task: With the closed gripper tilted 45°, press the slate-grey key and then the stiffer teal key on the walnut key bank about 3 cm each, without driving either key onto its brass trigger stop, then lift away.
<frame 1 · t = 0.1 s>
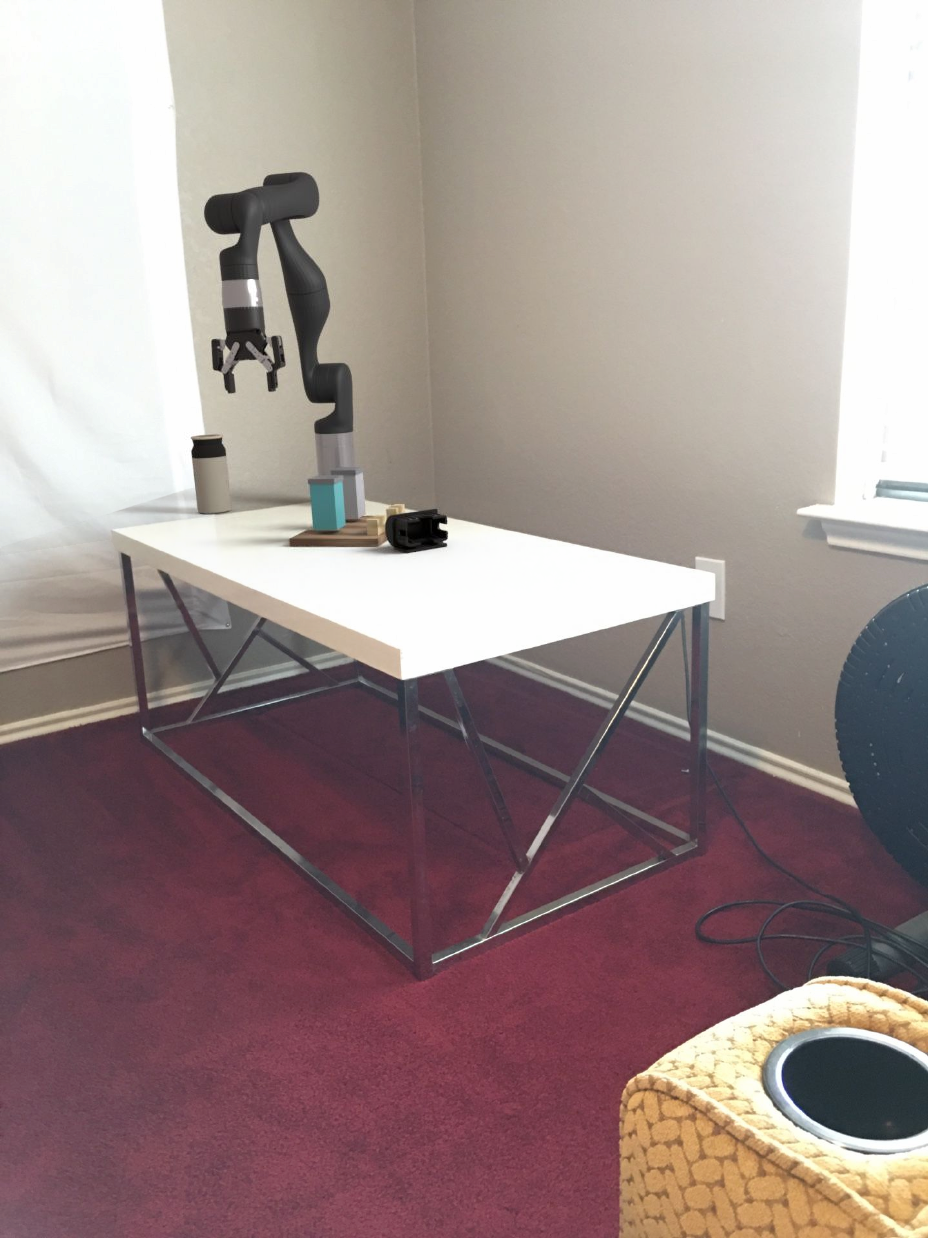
hand: (251, 392, 202), 29 cm above the table, tool pointing down, fingers open, 8 cm apart
end cap: (418, 548, 195), on the table
grey key: (349, 492, 216), point 7 cm above the table, slide at 0.0 cm
key base: (355, 533, 212), on the table
travel mug: (215, 512, 248), on the table
teal key: (327, 502, 204), point 7 cm above the table, slide at 0.0 cm
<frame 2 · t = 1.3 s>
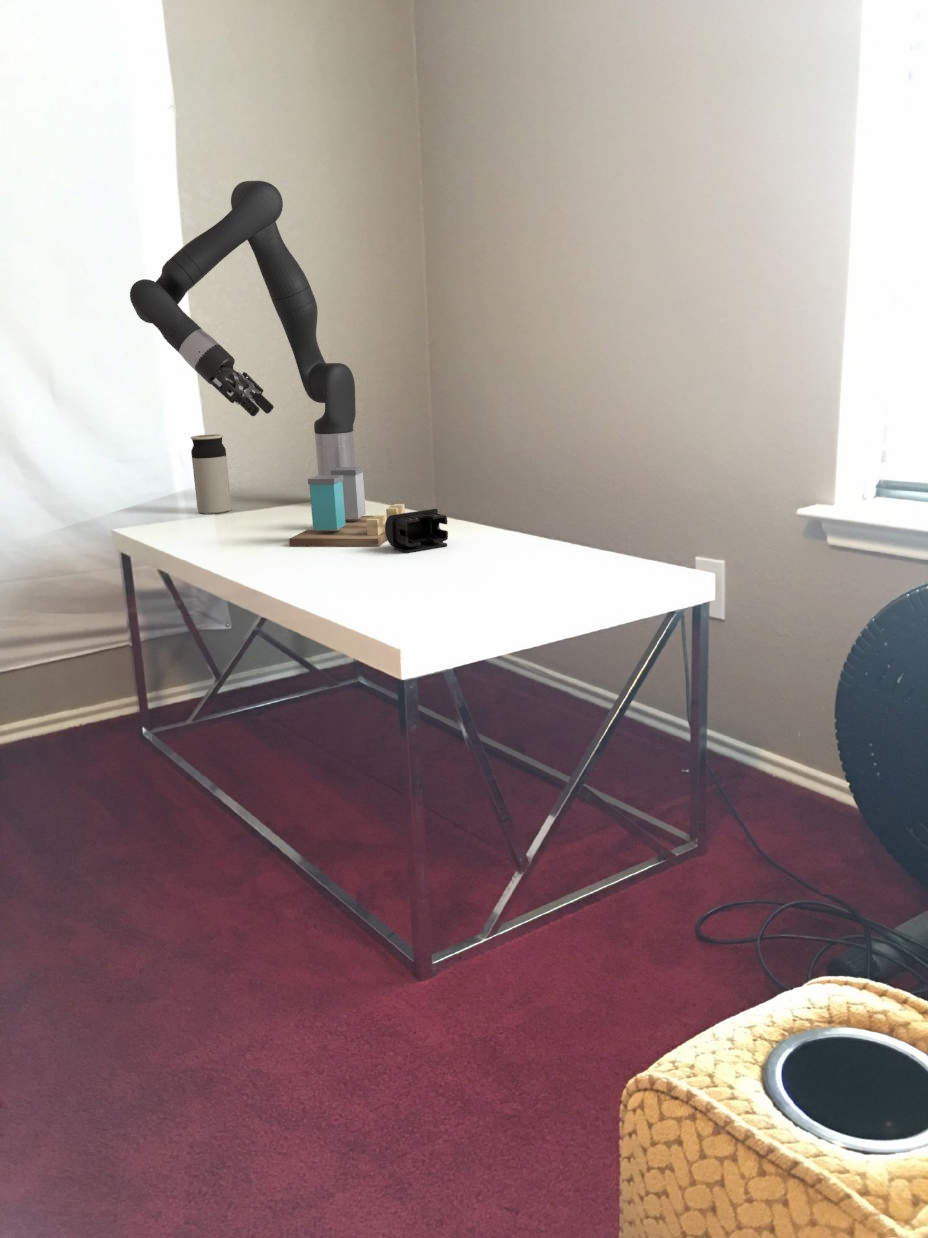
hand: (263, 411, 218), 24 cm above the table, tool tilted 45°, fingers open, 7 cm apart
nothing on the table moved.
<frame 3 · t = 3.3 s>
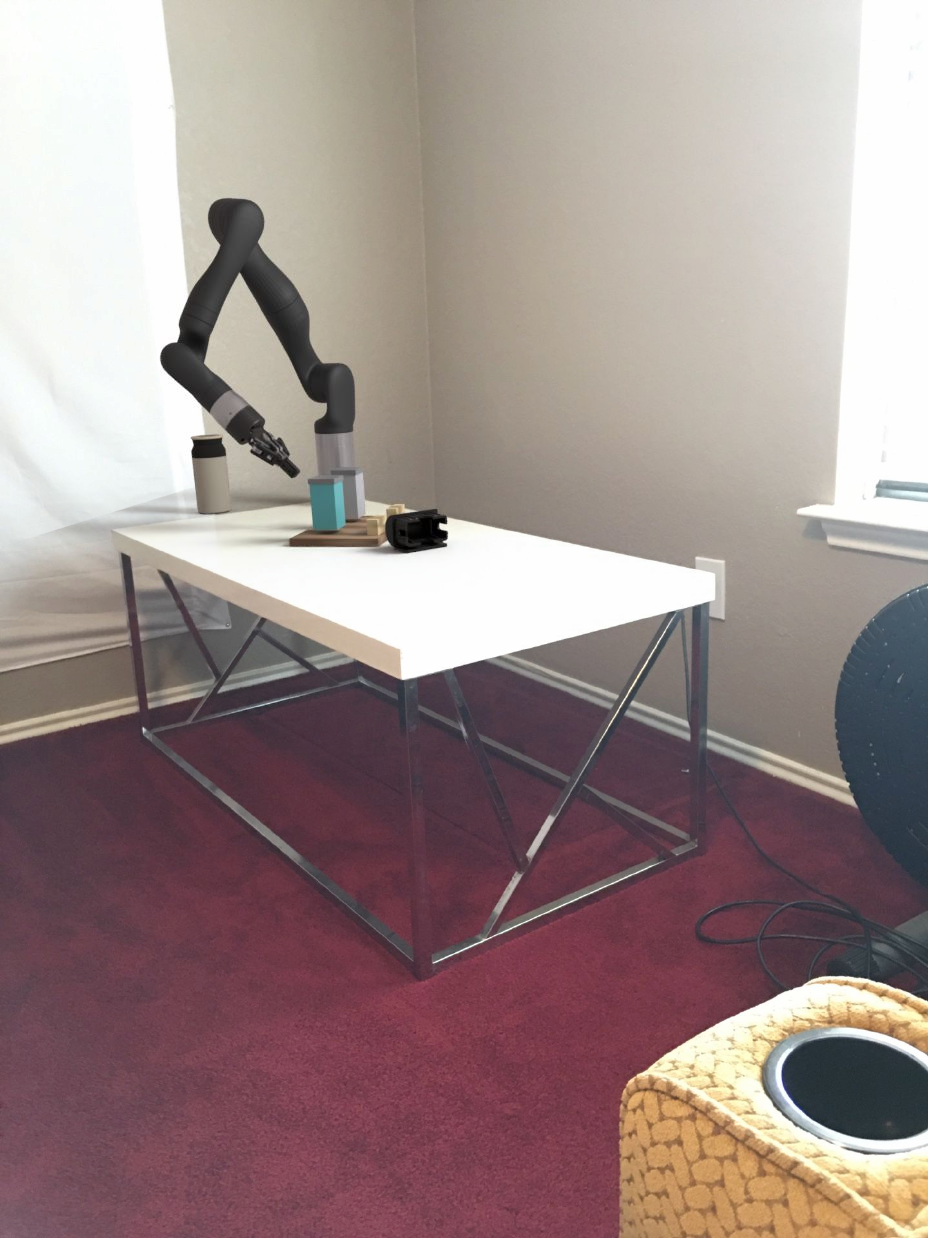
hand: (296, 474, 218), 11 cm above the table, tool tilted 45°, fingers closed
nothing on the table moved.
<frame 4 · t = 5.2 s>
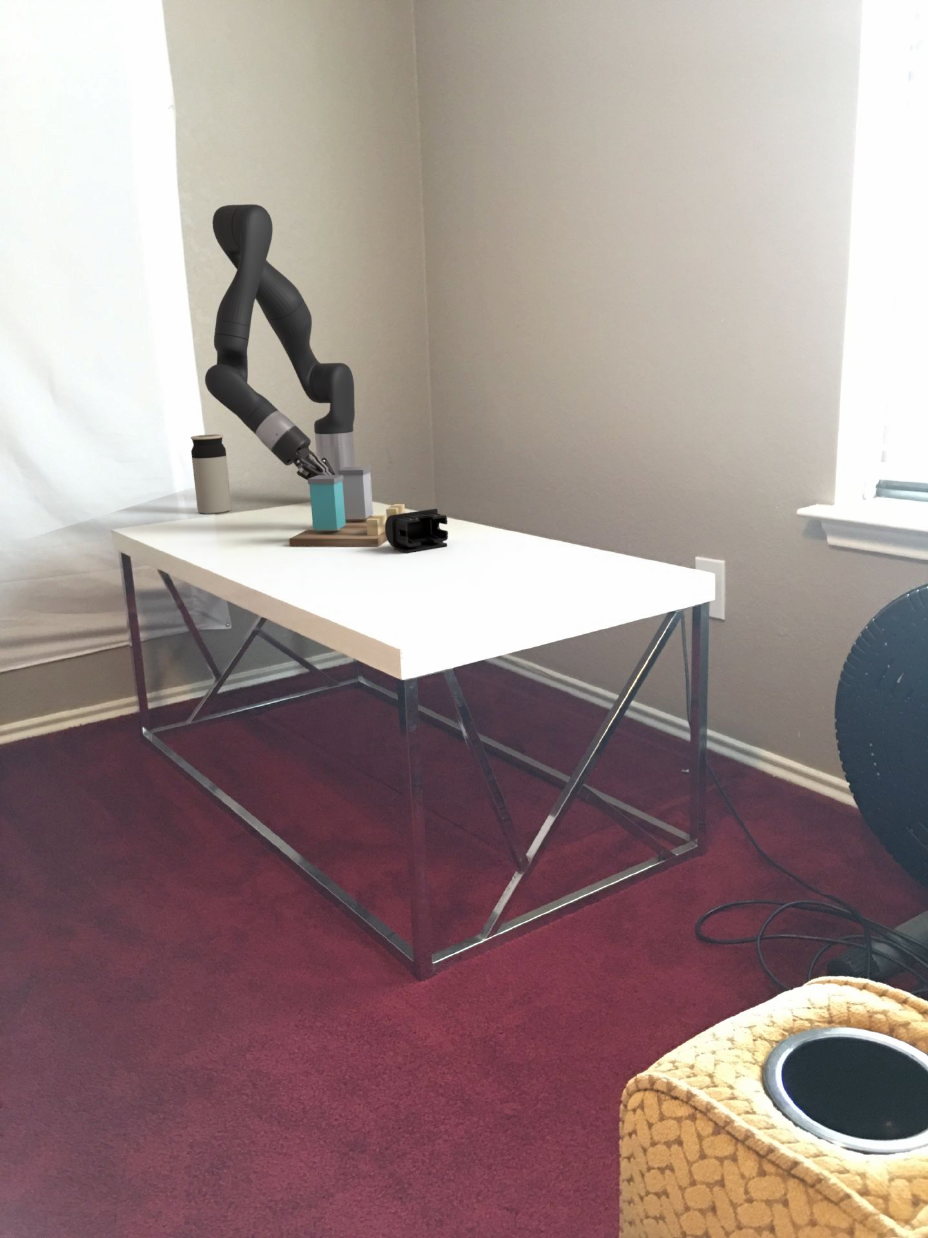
hand: (342, 495, 217), 7 cm above the table, tool tilted 45°, fingers closed
grey key: (356, 492, 216), point 7 cm above the table, slide at 1.6 cm, touching gripper
everything else where it was.
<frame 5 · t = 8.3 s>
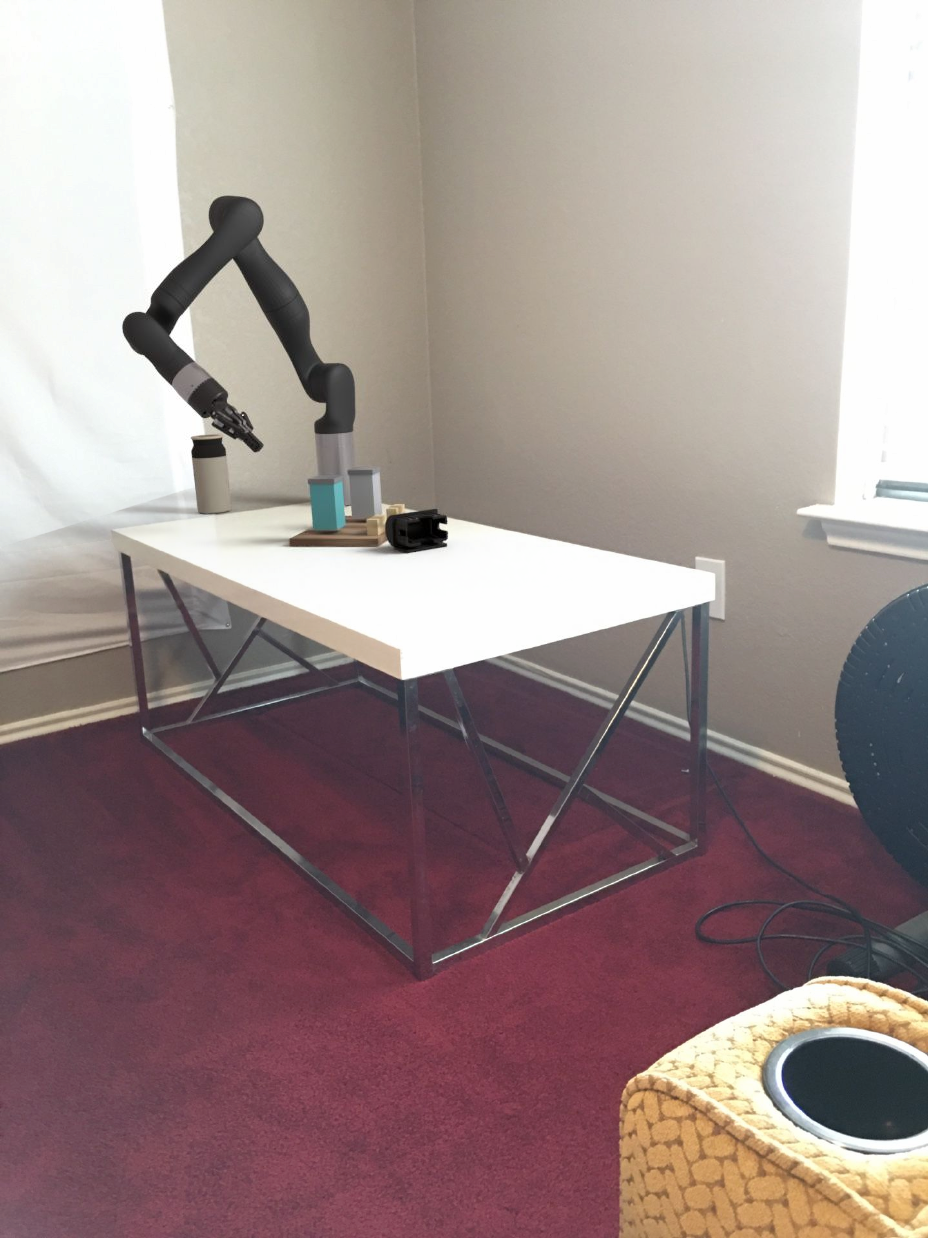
hand: (259, 449, 214), 17 cm above the table, tool tilted 45°, fingers closed
grey key: (365, 492, 216), point 7 cm above the table, slide at 3.6 cm
everything else where it was.
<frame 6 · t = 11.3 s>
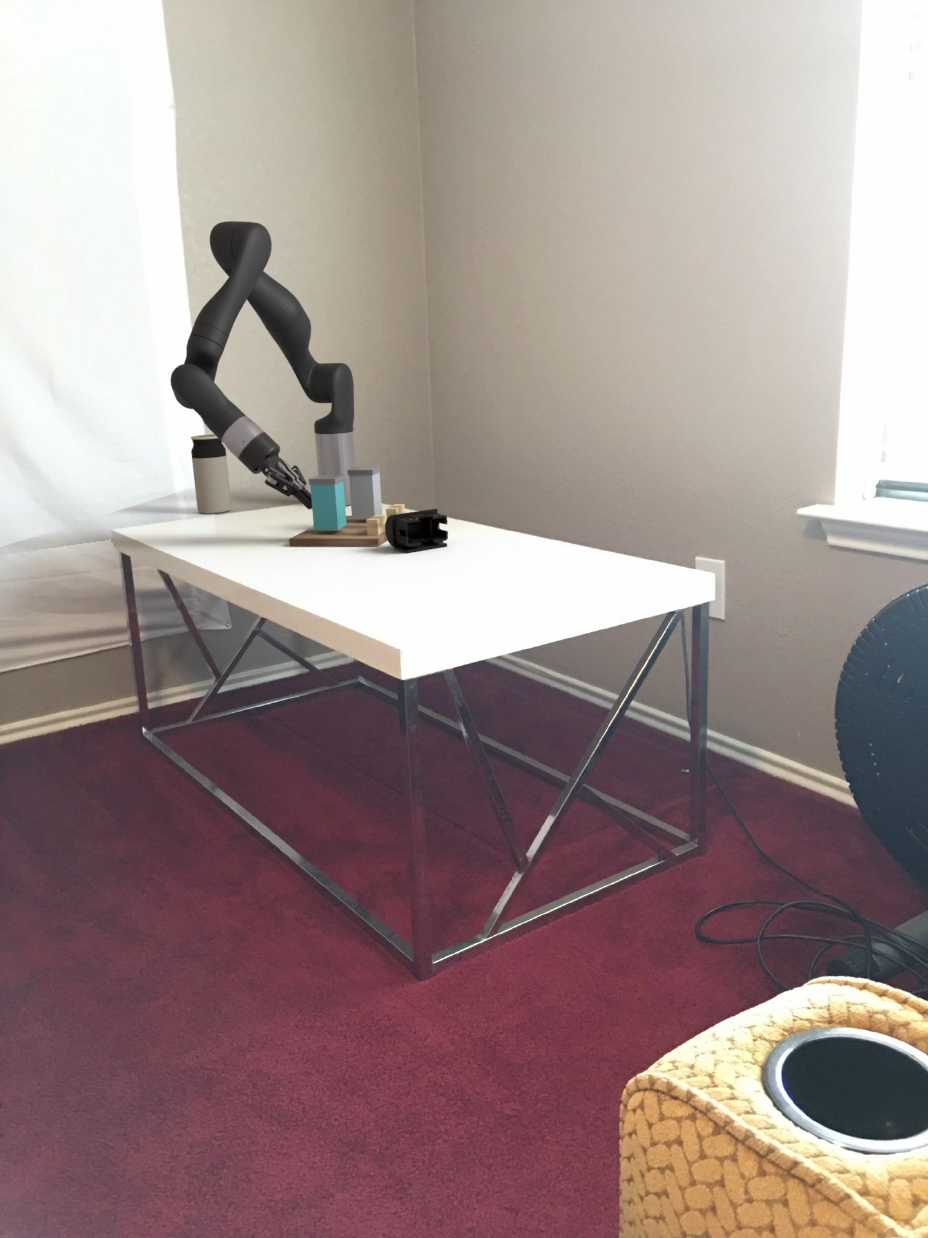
hand: (314, 505, 205), 7 cm above the table, tool tilted 45°, fingers closed
teal key: (328, 502, 204), point 7 cm above the table, slide at 0.2 cm, touching gripper
everything else where it was.
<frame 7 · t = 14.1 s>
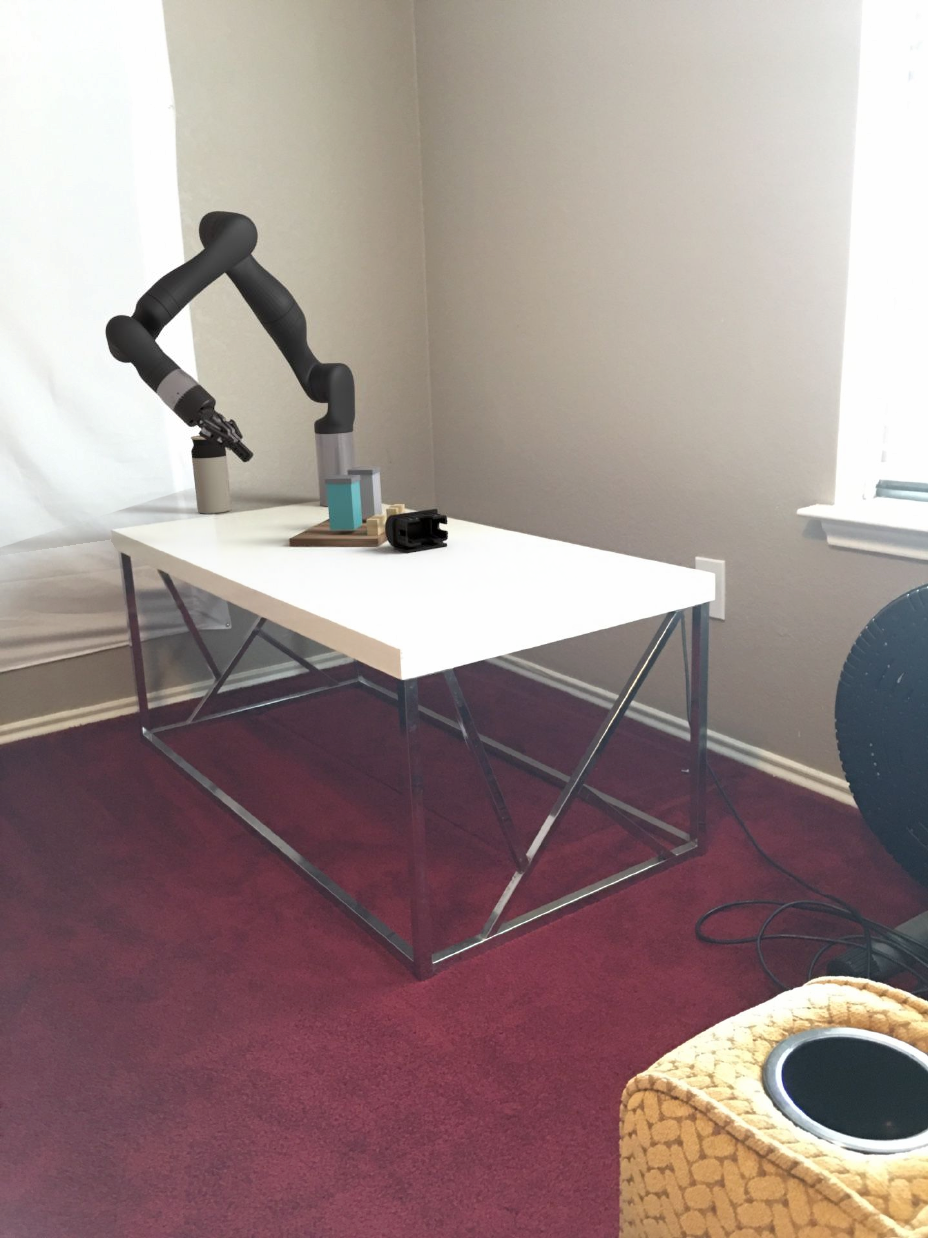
hand: (249, 458, 205), 16 cm above the table, tool tilted 45°, fingers closed
teal key: (344, 502, 203), point 7 cm above the table, slide at 3.5 cm
everything else where it was.
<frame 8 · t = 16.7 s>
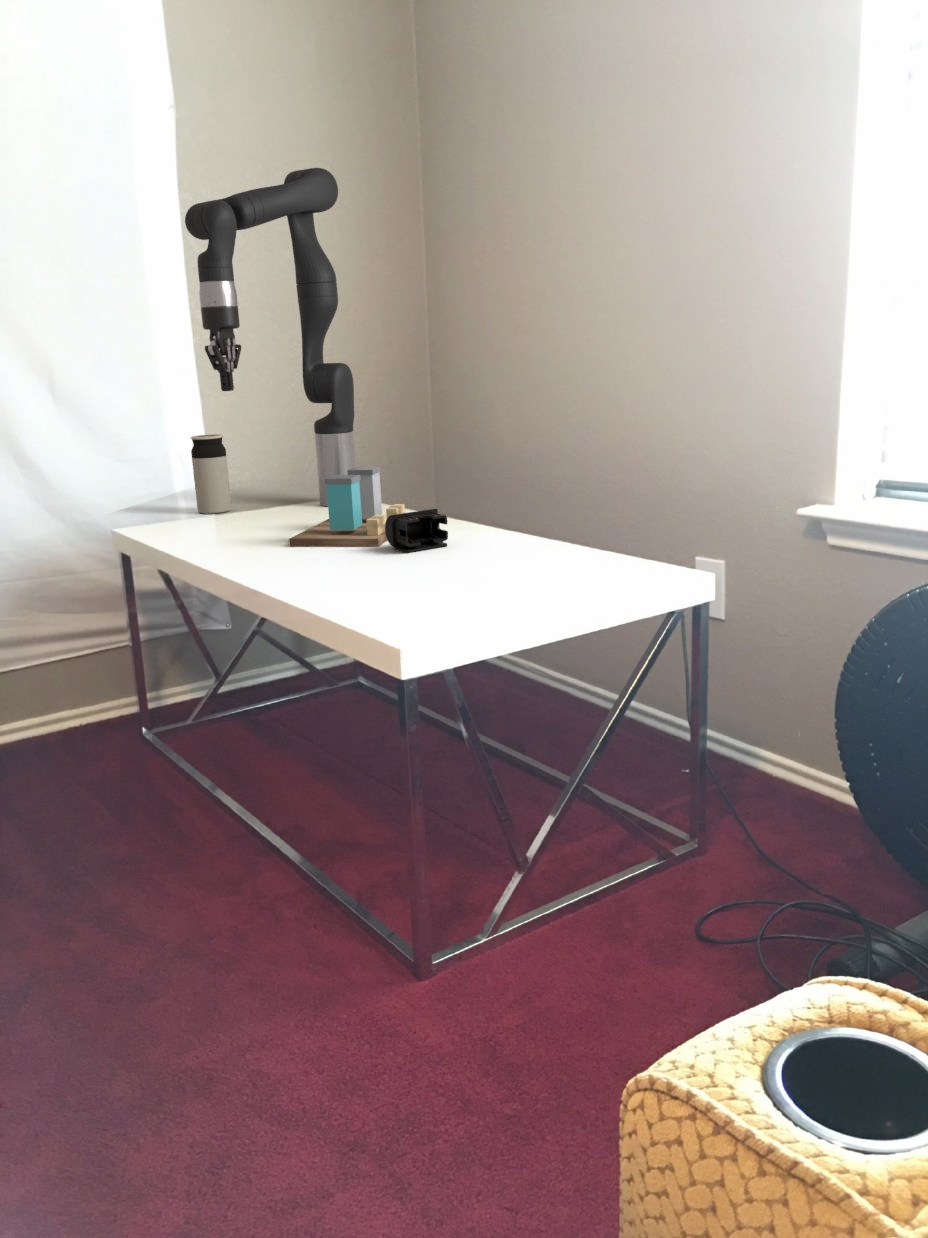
hand: (227, 390, 218), 29 cm above the table, tool pointing down, fingers closed
nothing on the table moved.
at the end: grey key slide at 3.6 cm; teal key slide at 3.5 cm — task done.
